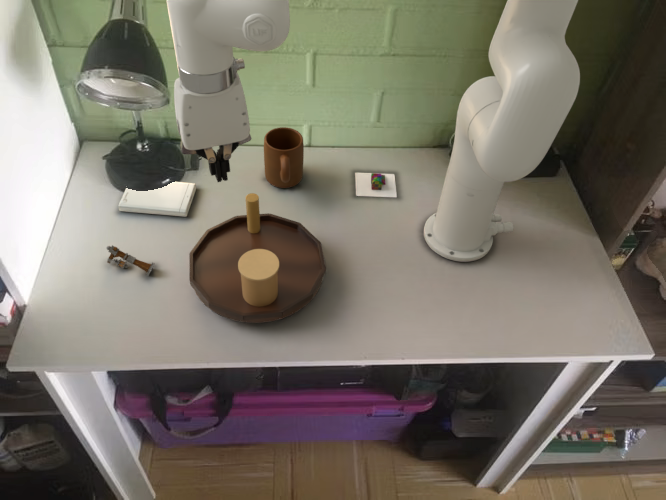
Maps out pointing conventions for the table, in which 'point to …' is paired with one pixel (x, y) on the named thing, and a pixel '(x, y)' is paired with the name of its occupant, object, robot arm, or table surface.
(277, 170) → the mug
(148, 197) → the hard drive
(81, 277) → the table surface
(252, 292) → the tan cylinder
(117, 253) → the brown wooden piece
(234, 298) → the tray
